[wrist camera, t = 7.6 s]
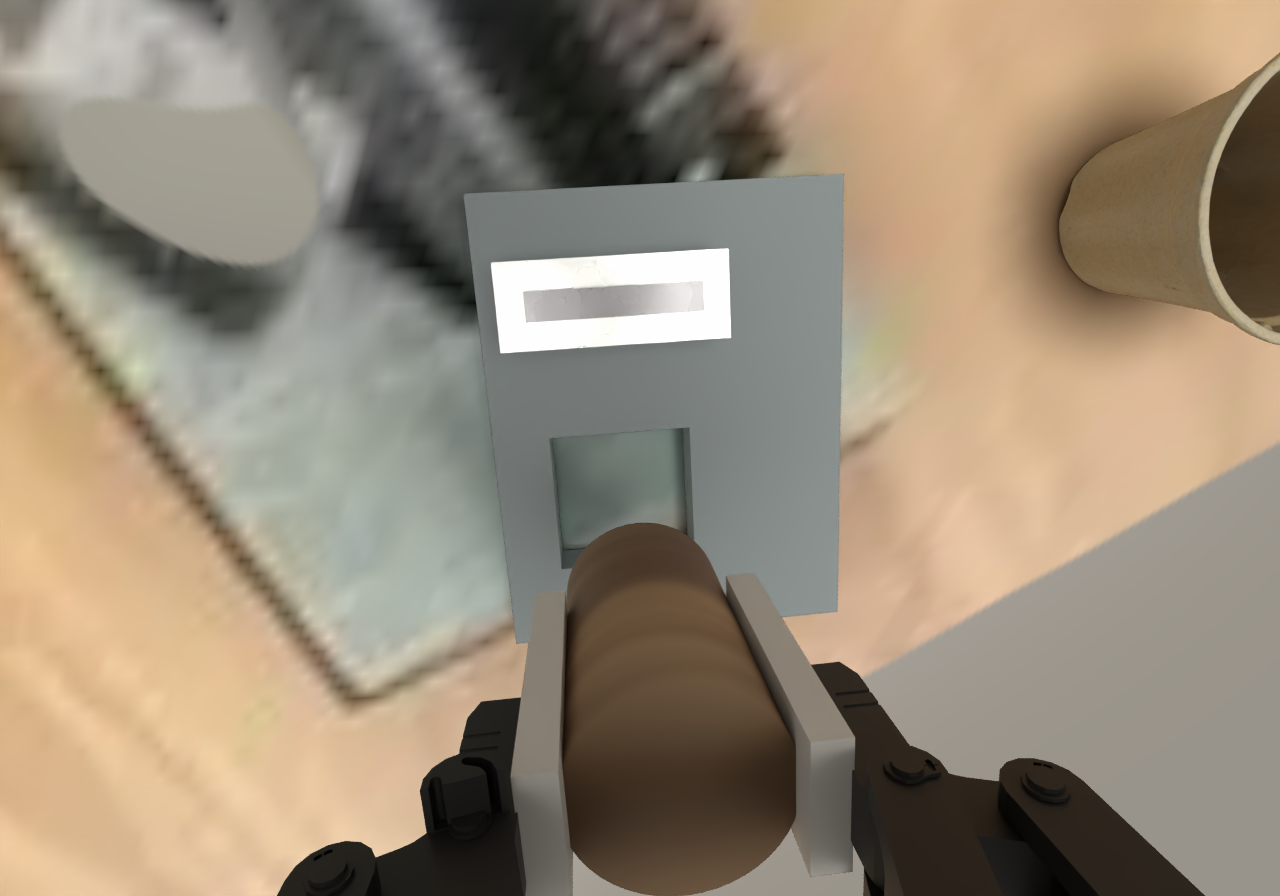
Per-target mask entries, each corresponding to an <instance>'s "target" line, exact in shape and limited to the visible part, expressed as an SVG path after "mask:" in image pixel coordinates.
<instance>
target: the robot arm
mask: <svg viewBox="0 0 1280 896" xmlns="http://www.w3.org/2000/svg"><path fill="white" fill-rule="evenodd" d="M726 597H727V599H728V601H729V603H730V606H731V608H732V610H733V612H734V614H735V616H736V619H737V621H738V623H739V625H740V627H741V629H742V632H743V634H744V636H745V638H746V640H747V642H748V645H749V647H750V649H751V651H752V653H753V655H754V657H755V660H756V662H757V664H758V666H759V668H760V670H761V673H762V675H763V677H764V679H765V681H766V683H767V686H768V688H769V690H770V692H771V694H772V696H773V698H774V701H775V703H776V705H777V707H778V709H779V711H780V714H781V716H782V718H783V720H784V722H785V724H786V727H787V729H788V731H789V733H790V735H791V737H792V739H793V742H794V744H795V747H796V818H795V820H794V822H793V824H792V826H791V829H792V832H793V834H794V837H795V839H796V842H797V844H798V847H799V849H800V852H801V854H802V857H803V860H804V862H805V865H806V867H807V870H808V872H809V875H810V877H815V876H823V875H831V874H839V873H846V872H852V871H853V870H852V869H853V846H854V848H855V850H856V852H857V854H858V856H859V858H860V860H861V862H862V864H863V866H864V893H863V896H1205V895H1204V894H1203V893H1201V892H1200V891H1199V890H1198V889H1197V888H1196V887H1195V886H1194V885H1193V884H1192V883H1191V882H1190V881H1189V880H1188V879H1187V878H1186V877H1184V876H1183V875H1182V874H1181V873H1180V872H1179V871H1178V870H1177V869H1176V868H1175V867H1174V866H1173V865H1172V864H1171V863H1170V862H1169V861H1168V860H1166V859H1165V858H1164V857H1163V856H1162V855H1161V854H1160V853H1159V852H1158V851H1157V850H1156V849H1155V848H1154V847H1153V846H1152V845H1151V844H1149V843H1148V842H1147V841H1146V840H1145V839H1144V838H1143V837H1142V836H1141V835H1140V834H1139V833H1138V832H1137V831H1136V830H1135V829H1134V828H1132V827H1131V826H1130V825H1129V824H1128V823H1127V822H1126V821H1125V820H1124V819H1123V818H1122V817H1121V816H1120V815H1119V814H1118V813H1117V812H1115V811H1114V810H1113V809H1112V808H1111V807H1110V806H1109V805H1108V804H1107V803H1106V802H1105V801H1104V800H1103V799H1102V798H1101V797H1100V796H1098V795H1097V794H1096V793H1095V792H1094V791H1093V790H1092V789H1091V788H1090V787H1089V786H1088V785H1087V784H1086V783H1085V782H1084V781H1082V780H1081V779H1080V778H1078V777H1077V776H1076V775H1074V774H1073V773H1072V772H1070V771H1069V770H1067V769H1065V768H1063V767H1060V766H1058V765H1056V764H1054V763H1051V762H1047V761H1043V760H1039V759H1034V758H1032V759H1031V758H1018V759H1015V760H1012V761H1009V762H1006V763H1005V764H1004V766H1003V767H1002V768H1001V769H1000V774H999V781H991V780H981V779H974V778H966V777H961V776H956V775H952V774H949V773H948V771H947V770H946V769H945V767H944V766H943V765H942V763H941V762H940V761H939V760H938V759H936V758H935V757H934V756H932V755H931V754H929V753H928V752H926V751H923V750H921V749H918V748H916V747H913V746H910V745H909V744H908V743H907V742H906V740H905V739H904V737H903V736H902V734H901V733H900V732H899V730H898V729H897V727H896V726H895V725H894V723H893V722H892V720H891V719H890V718H889V716H888V715H887V714H886V712H885V711H884V709H883V708H882V707H881V705H879V704H878V701H877V700H876V698H875V697H874V695H873V694H872V693H871V692H869V689H868V687H867V686H866V684H865V683H864V682H863V680H862V679H861V677H860V676H859V675H858V674H857V673H856V672H854V671H853V670H851V669H850V668H848V667H847V666H845V665H844V664H842V663H840V662H834V663H824V664H815V665H811V664H810V663H809V661H808V660H807V658H806V656H805V655H804V653H803V651H802V650H801V648H800V646H799V645H798V643H797V642H796V640H795V638H794V637H793V635H792V633H791V632H790V630H789V628H788V627H787V625H786V624H785V622H784V620H783V619H782V617H781V615H780V614H779V612H778V611H777V609H776V607H775V606H774V604H773V602H772V601H771V599H770V597H769V596H768V594H767V593H766V591H765V589H764V588H763V586H762V584H761V583H760V581H759V579H758V578H757V576H756V575H755V573H745V574H735V575H726ZM566 645H567V605H566V595H565V591H557V592H546V593H536V594H535V599H534V606H533V614H532V621H531V628H530V636H529V643H528V651H527V658H526V665H525V673H524V680H523V688H522V695H521V698H512V699H502V700H493V701H483V702H481V703H480V704H479V705H478V706H477V708H476V709H475V710H474V711H473V712H472V713H471V715H470V716H469V717H468V718H467V722H466V726H465V730H464V734H463V739H462V742H461V746H460V754H458V755H455V756H453V757H450V758H447V759H445V760H444V761H442V762H441V763H439V764H438V765H436V766H435V767H433V768H432V769H431V770H430V772H429V773H428V774H427V775H426V776H425V778H424V779H423V782H422V785H421V789H420V794H421V800H422V807H423V813H424V819H425V825H426V831H427V833H426V834H425V835H424V836H422V837H421V838H419V839H418V840H416V841H415V842H413V843H411V844H409V845H407V846H404V847H402V848H400V849H397V850H395V851H392V852H389V853H387V854H384V855H382V856H379V857H376V858H375V856H374V853H373V851H372V849H371V848H370V847H368V846H366V845H365V844H363V843H361V842H351V841H344V842H340V843H335V844H331V845H328V846H326V847H324V848H322V849H320V850H318V851H316V852H314V853H312V854H310V855H309V856H308V857H306V858H305V859H304V860H303V861H301V862H300V863H299V864H298V865H297V866H295V868H294V869H293V870H292V872H291V873H290V874H289V876H288V877H287V878H286V880H285V881H284V883H283V885H282V887H281V889H280V891H279V893H278V895H277V896H573V895H572V893H573V892H572V891H573V850H572V849H571V847H570V837H569V827H568V818H567V808H566V798H565V789H564V779H563V769H562V762H563V733H564V704H565V674H566Z"/></svg>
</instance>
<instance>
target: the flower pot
mask: <svg viewBox="0 0 1280 896" xmlns="http://www.w3.org/2000/svg"><path fill="white" fill-rule="evenodd" d="M1059 234H1060V242H1061V247H1062V250H1063V253H1064V256H1065V258H1066V261H1067V263H1068V264H1069V266H1070V267H1071V269H1072V270H1073V272H1074V273H1075V274H1076V275H1077V276H1078V277H1079V278H1080V279H1081V280H1082V281H1084V282H1085V283H1086V284H1088V285H1091V286H1093V287H1095V288H1097V289H1100V290H1102V291H1105V292H1108V293H1114V294H1122V295H1129V296H1134V297H1140V298H1145V299H1150V300H1155V301H1160V302H1165V303H1170V304H1174V305H1179V306H1184V307H1189V308H1193V309H1198V310H1203V311H1208V312H1211V313H1213V314H1214V315H1216V316H1217V317H1219V318H1221V319H1223V320H1225V321H1228V322H1230V323H1233V324H1234V325H1235V326H1237V327H1238V328H1240V329H1241V330H1243V331H1245V332H1246V333H1248V334H1250V335H1252V336H1254V337H1256V338H1258V339H1261V340H1263V341H1266V342H1269V343H1272V344H1277V345H1280V53H1279V54H1278V55H1276V56H1275V57H1274V58H1273V59H1272V60H1270V61H1269V62H1268V63H1267V64H1266V65H1265V66H1264V67H1262V68H1261V69H1260V70H1258V71H1256V72H1255V73H1253V74H1252V75H1250V76H1249V77H1248V78H1246V79H1245V80H1244V81H1242V82H1241V83H1240V84H1239V85H1237V86H1236V87H1235V88H1234V89H1232V90H1230V91H1228V92H1226V93H1224V94H1222V95H1219V96H1217V97H1215V98H1213V99H1211V100H1209V101H1207V102H1204V103H1202V104H1200V105H1198V106H1196V107H1194V108H1191V109H1189V110H1187V111H1185V112H1183V113H1181V114H1178V115H1176V116H1174V117H1172V118H1170V119H1168V120H1165V121H1163V122H1161V123H1159V124H1156V125H1154V126H1152V127H1150V128H1147V129H1145V130H1143V131H1141V132H1139V133H1136V134H1134V135H1132V136H1130V137H1128V138H1126V139H1123V140H1120V141H1118V142H1115V143H1113V144H1111V145H1109V146H1108V147H1106V148H1104V149H1103V150H1101V151H1100V152H1098V153H1097V154H1096V155H1095V156H1094V157H1092V158H1091V159H1090V160H1089V161H1088V162H1087V163H1086V164H1085V165H1084V166H1083V168H1082V169H1081V170H1080V171H1079V172H1078V174H1077V175H1076V177H1075V178H1074V179H1073V181H1072V185H1071V190H1070V193H1069V196H1068V199H1067V202H1066V205H1065V207H1064V210H1063V212H1062V214H1061V216H1060V219H1059Z"/></svg>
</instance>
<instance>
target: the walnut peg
mask: <svg viewBox="0 0 1280 896" xmlns="http://www.w3.org/2000/svg"><path fill="white" fill-rule="evenodd" d="M566 605H567V645H566V674H565V704H564V733H563V762H562V769H563V779H564V789H565V798H566V808H567V818H568V827H569V837H570V847H571V849H572V850H573V851H574V853H575V854H576V855H577V857H578V858H579V859H580V860H581V861H582V862H583V863H584V864H585V865H586V866H587V867H588V868H589V869H590V870H592V871H593V872H594V873H596V874H597V875H598V876H600V877H601V878H603V879H605V880H606V881H608V882H610V883H612V884H614V885H616V886H619V887H621V888H624V889H626V890H630V891H633V892H637V893H641V894H647V895H654V896H684V895H692V894H697V893H703V892H706V891H709V890H713V889H716V888H719V887H722V886H724V885H726V884H729V883H731V882H733V881H735V880H737V879H739V878H740V877H742V876H744V875H746V874H747V873H749V872H750V871H752V870H753V869H755V868H756V867H758V866H759V865H760V864H761V863H762V862H763V861H765V860H766V859H767V858H768V857H769V856H770V855H771V854H772V853H773V852H774V851H775V849H776V848H777V847H778V846H779V845H780V843H781V842H782V841H783V839H784V838H785V836H786V835H787V834H788V832H789V830H790V828H791V826H792V824H793V822H794V820H795V818H796V747H795V744H794V742H793V739H792V737H791V735H790V733H789V731H788V729H787V727H786V724H785V722H784V720H783V718H782V716H781V714H780V711H779V709H778V707H777V705H776V703H775V701H774V698H773V696H772V694H771V692H770V690H769V688H768V686H767V683H766V681H765V679H764V677H763V675H762V673H761V670H760V668H759V666H758V664H757V662H756V660H755V657H754V655H753V653H752V651H751V649H750V647H749V645H748V642H747V640H746V638H745V636H744V634H743V632H742V629H741V627H740V625H739V623H738V621H737V619H736V616H735V614H734V612H733V610H732V608H731V606H730V603H729V601H728V599H727V597H726V595H725V593H724V591H723V588H722V586H721V584H720V582H719V580H718V578H717V575H716V573H715V571H714V569H713V567H712V565H711V562H710V560H709V559H708V557H707V555H706V554H705V552H704V551H703V550H702V549H701V547H700V546H699V545H698V544H697V543H696V542H695V541H694V540H693V539H691V538H690V537H688V536H687V535H686V534H684V533H682V532H680V531H678V530H676V529H674V528H671V527H668V526H665V525H660V524H654V523H635V524H628V525H624V526H621V527H617V528H615V529H613V530H610V531H608V532H606V533H605V534H603V535H601V536H599V537H598V538H597V539H595V540H594V541H593V542H592V543H591V544H590V545H588V546H587V547H586V548H585V549H584V551H583V552H582V553H581V555H580V556H579V557H578V559H577V561H576V562H575V564H574V566H573V568H572V571H571V573H570V576H569V580H568V586H567V597H566Z"/></svg>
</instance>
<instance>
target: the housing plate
mask: <svg viewBox="0 0 1280 896" xmlns="http://www.w3.org/2000/svg"><path fill="white" fill-rule="evenodd" d="M464 203H465V211H466V220H467V228H468V237H469V245H470V254H471V262H472V271H473V279H474V288H475V296H476V305H477V313H478V322H479V330H480V339H481V347H482V356H483V364H484V373H485V381H486V390H487V398H488V407H489V415H490V424H491V433H492V441H493V450H494V458H495V467H496V475H497V484H498V492H499V501H500V509H501V518H502V526H503V535H504V543H505V552H506V560H507V569H508V577H509V586H510V594H511V603H512V611H513V620H514V628H515V637H516V644H519V643H529V636H530V628H531V621H532V614H533V606H534V599H535V594H536V593H546V592H557V591H565V595H566V597H567V586H568V580H569V576H570V573H571V571H572V568H573V566H574V564H575V562H576V561H577V559H578V557H579V556H580V555H581V553H582V552H583V551H584V549H575V550H564V551H563V548H562V538H561V527H560V516H559V506H558V495H557V485H556V474H555V464H554V453H553V443H552V438H561V437H573V436H586V435H599V434H612V433H625V432H637V431H650V430H663V429H676V428H683V448H684V470H685V493H686V515H687V536H688V537H690V538H691V539H693V540H694V541H695V542H696V543H697V544H698V545H699V546H700V547H701V549H702V550H703V551H704V552H705V554H706V555H707V557H708V559H709V560H710V562H711V565H712V567H713V569H714V571H715V573H716V575H717V578H718V580H719V582H720V584H721V586H722V588H723V591H724V593H725V595H726V575H735V574H745V573H755V575H756V576H757V578H758V579H759V581H760V583H761V584H762V586H763V588H764V589H765V591H766V593H767V594H768V596H769V597H770V599H771V601H772V602H773V604H774V606H775V607H776V609H777V611H778V612H779V614H780V615H781V617H790V616H800V615H810V614H820V613H830V612H837V610H838V542H839V474H840V406H841V338H842V271H843V203H844V174H834V175H815V176H796V177H777V178H757V179H738V180H719V181H699V182H680V183H661V184H641V185H622V186H603V187H583V188H564V189H545V190H526V191H506V192H487V193H468V194H464ZM712 249H728V253H729V292H730V331H731V337H730V338H716V339H701V340H687V341H672V342H658V343H643V344H629V345H614V346H599V347H585V348H570V349H556V350H541V351H527V352H512V353H501V352H500V343H499V334H498V325H497V315H496V306H495V297H494V288H493V279H492V270H491V263H492V262H509V261H526V260H543V259H560V258H577V257H594V256H611V255H628V254H644V253H661V252H678V251H695V250H712Z"/></svg>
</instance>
